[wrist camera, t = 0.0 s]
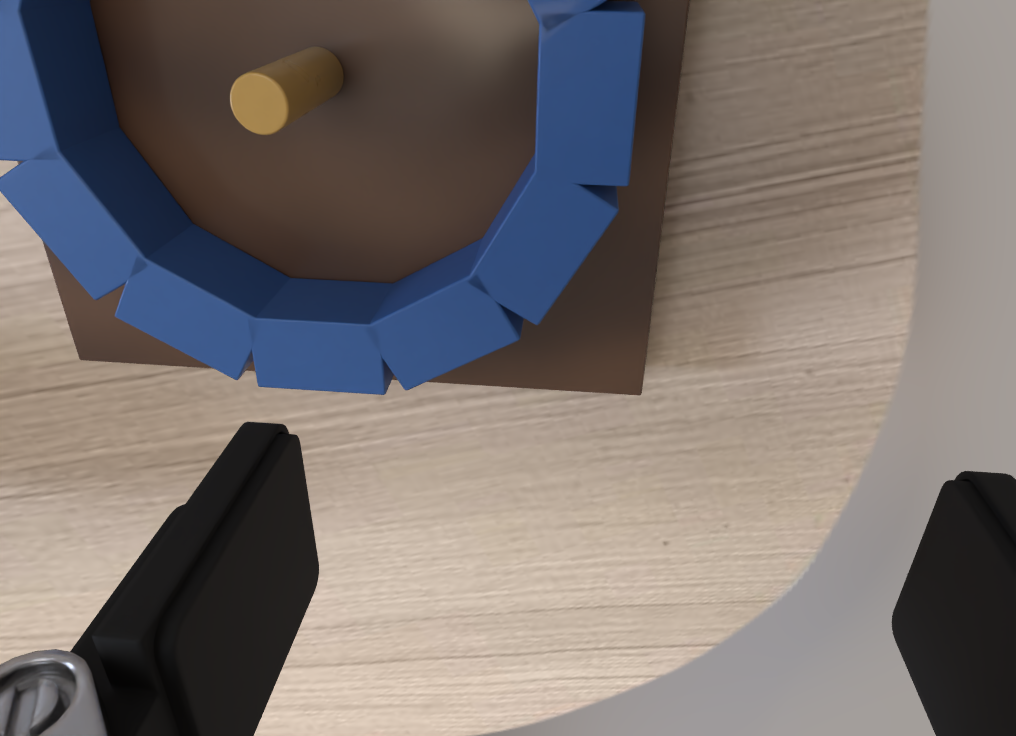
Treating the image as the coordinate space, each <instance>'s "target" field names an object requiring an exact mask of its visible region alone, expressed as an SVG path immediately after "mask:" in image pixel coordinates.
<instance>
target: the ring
mask: <svg viewBox="0 0 1016 736" xmlns="http://www.w3.org/2000/svg"><path fill="white" fill-rule="evenodd" d="M528 2H529V4H530V6H531V8H532V10H533V12H534V15H535V17H536V19H537V21H538V23H539V44H538V75H537V107H536V138H535V154H534V156H533V157H532V159H531V160H530V162H529V164H528V165H527V167H526V169H525V170H524V172H523V173H522V175H521V177H520V178H519V180H518V182H517V183H516V185H515V186H514V188H513V190H512V191H511V193H510V194H509V196H508V198H507V199H506V201H505V203H504V204H503V206H502V207H501V209H500V211H499V212H498V214H497V216H496V217H495V219H494V220H493V222H492V224H491V225H490V227H489V229H488V230H487V232H486V233H485V235H484V237H483V238H482V239H480V240H478V241H476V242H474V243H472V244H470V245H468V246H466V247H464V248H462V249H460V250H458V251H456V252H454V253H452V254H450V255H448V256H446V257H444V258H442V259H440V260H438V261H436V262H434V263H432V264H430V265H429V266H427V267H425V268H423V269H421V270H419V271H417V272H415V273H413V274H411V275H409V276H407V277H405V278H403V279H401V280H399V281H397V282H395V283H375V282H356V281H337V280H318V279H299V278H290V277H288V276H286V275H284V274H283V273H281V272H279V271H277V270H275V269H274V268H272V267H270V266H268V265H266V264H265V263H263V262H261V261H259V260H257V259H256V258H254V257H252V256H250V255H248V254H247V253H245V252H243V251H241V250H240V249H238V248H236V247H234V246H232V245H231V244H229V243H227V242H225V241H223V240H222V239H220V238H218V237H216V236H214V235H213V234H211V233H209V232H207V231H205V230H204V229H202V228H200V227H198V226H197V225H195V224H193V223H192V221H191V220H190V219H189V217H188V216H187V215H186V214H185V212H184V211H183V210H182V208H181V207H180V206H179V204H178V203H177V202H176V200H175V199H174V198H173V197H172V195H171V194H170V193H169V191H168V190H167V189H166V187H165V186H164V185H163V183H162V182H161V181H160V179H159V178H158V177H157V176H156V174H155V173H154V172H153V170H152V169H151V168H150V166H149V165H148V164H147V162H146V161H145V160H144V158H143V157H142V156H141V155H140V153H139V152H138V151H137V149H136V148H135V147H134V145H133V144H132V143H131V141H130V140H129V139H128V137H127V136H126V135H125V134H124V132H123V131H122V130H121V128H120V127H119V122H118V118H117V114H116V110H115V106H114V102H113V98H112V93H111V89H110V85H109V81H108V77H107V73H106V68H105V64H104V60H103V56H102V52H101V48H100V43H99V39H98V35H97V31H96V27H95V23H94V18H93V14H92V10H91V6H90V0H0V160H9V161H23V162H21V163H20V164H19V165H17V166H16V167H14V168H13V169H11V170H10V171H9V172H7V173H6V174H4V175H3V176H2V177H0V191H1V193H2V194H3V195H4V196H5V197H6V198H7V200H8V201H9V202H10V203H11V204H12V205H13V206H14V208H15V209H16V210H17V211H18V212H19V213H20V215H21V216H22V217H23V218H24V219H25V220H26V222H27V223H28V224H29V225H30V226H31V227H32V228H33V230H34V231H35V232H36V233H37V234H38V235H39V237H40V238H41V239H42V240H43V241H44V242H45V243H46V245H47V246H48V247H49V248H50V249H51V250H52V252H53V253H54V254H55V255H56V256H57V257H58V259H59V260H60V261H61V262H62V263H63V264H64V265H65V267H66V268H67V269H68V270H69V271H70V272H71V274H72V275H73V276H74V277H75V278H76V279H77V281H78V282H79V283H80V284H81V285H82V286H83V287H84V289H85V290H86V291H87V292H88V293H89V294H90V296H91V297H92V298H93V299H94V300H99V299H100V298H102V297H104V296H105V295H107V294H109V293H111V292H112V291H114V290H116V289H117V288H119V287H121V286H122V285H124V284H125V287H124V289H123V292H122V295H121V298H120V301H119V304H118V307H117V310H116V312H115V317H116V318H118V319H120V320H122V321H124V322H126V323H128V324H130V325H132V326H134V327H136V328H138V329H139V330H141V331H143V332H145V333H147V334H149V335H151V336H153V337H155V338H157V339H159V340H160V341H162V342H164V343H166V344H168V345H170V346H172V347H174V348H176V349H178V350H180V351H182V352H183V353H185V354H187V355H189V356H191V357H193V358H195V359H197V360H199V361H201V362H203V363H204V364H206V365H208V366H210V367H212V368H214V369H216V370H218V371H220V372H222V373H224V374H226V375H227V376H229V377H231V378H233V379H235V380H238V379H239V378H240V377H241V376H242V374H243V373H244V372H245V371H246V369H247V368H248V367H249V366H250V364H251V363H252V362H253V361H254V365H255V371H256V376H257V382H258V386H259V387H271V388H286V389H302V390H317V391H333V392H348V393H364V394H379V395H384V394H386V391H387V389H388V387H389V385H390V382H391V380H392V378H393V376H394V375H395V376H396V378H397V379H398V381H399V382H400V384H401V385H402V386H403V388H404V389H405V390H409V389H411V388H413V387H416V386H418V385H420V384H422V383H425V382H427V381H429V380H431V379H433V378H436V377H438V376H440V375H442V374H445V373H447V372H449V371H451V370H454V369H456V368H458V367H460V366H462V365H465V364H467V363H469V362H471V361H474V360H476V359H478V358H480V357H483V356H485V355H487V354H489V353H492V352H494V351H496V350H498V349H500V348H503V347H505V346H507V345H509V344H512V343H514V342H516V341H518V340H519V339H520V337H521V331H522V326H523V320H524V318H525V319H527V320H528V321H530V322H532V323H533V324H535V325H538V324H540V322H541V321H542V319H543V318H544V317H545V315H546V314H547V312H548V311H549V309H550V308H551V307H552V305H553V304H554V302H555V301H556V300H557V298H558V297H559V295H560V294H561V293H562V291H563V290H564V288H565V287H566V286H567V284H568V283H569V281H570V280H571V278H572V277H573V276H574V274H575V273H576V271H577V270H578V269H579V267H580V266H581V264H582V263H583V262H584V260H585V259H586V257H587V256H588V255H589V253H590V252H591V250H592V249H593V248H594V246H595V245H596V243H597V242H598V240H599V239H600V238H601V236H602V235H603V233H604V232H605V231H606V229H607V228H608V226H609V225H610V224H611V222H612V221H613V219H614V218H615V217H616V215H617V214H618V212H619V207H618V196H617V186H628V185H629V181H630V171H631V161H632V150H633V140H634V130H635V119H636V109H637V99H638V88H639V78H640V67H641V57H642V47H643V36H644V26H645V16H646V15H645V12H644V11H643V9H642V8H641V6H640V5H639V3H638V2H630V1H607V0H528Z"/></svg>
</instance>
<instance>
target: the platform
mask: <svg viewBox="0 0 1016 736" xmlns="http://www.w3.org/2000/svg"><path fill="white" fill-rule="evenodd" d="M607 1H630V2H638V3H639V5H640V6H641V8H642V9H643V11H644V12H645V15H646V16H645V26H644V36H643V47H642V57H641V67H640V78H639V88H638V99H637V109H636V119H635V130H634V140H633V150H632V161H631V171H630V181H629V185H628V186H617V196H618V207H619V212H618V214H617V215H616V217H615V218H614V219H613V221H612V222H611V224H610V225H609V226H608V228H607V229H606V231H605V232H604V233H603V235H602V236H601V238H600V239H599V240H598V242H597V243H596V245H595V246H594V248H593V249H592V250H591V252H590V253H589V255H588V256H587V257H586V259H585V260H584V262H583V263H582V264H581V266H580V267H579V269H578V270H577V271H576V273H575V274H574V276H573V277H572V278H571V280H570V281H569V283H568V284H567V286H566V287H565V288H564V290H563V291H562V293H561V294H560V295H559V297H558V298H557V300H556V301H555V302H554V304H553V305H552V307H551V308H550V309H549V311H548V312H547V314H546V315H545V317H544V318H543V319H542V321H541V322H540V324H538V325H535V324H533V323H532V322H530V321H528V320H527V319H525V318H524V320H523V326H522V331H521V337H520V339H519V340H518V341H516V342H514V343H512V344H509V345H507V346H505V347H503V348H500V349H498V350H496V351H494V352H492V353H489V354H487V355H485V356H483V357H480V358H478V359H476V360H474V361H471V362H469V363H467V364H465V365H462V366H460V367H458V368H456V369H454V370H451V371H449V372H447V373H445V374H442V375H440V376H438V377H436V378H433V379H431V380H429V381H427V382H438V383H454V384H470V385H486V386H501V387H517V388H533V389H549V390H565V391H581V392H596V393H612V394H628V395H641V393H642V386H643V378H644V370H645V362H646V354H647V346H648V337H649V329H650V321H651V313H652V305H653V297H654V288H655V280H656V272H657V264H658V256H659V247H660V239H661V231H662V223H663V215H664V207H665V198H666V190H667V182H668V174H669V166H670V158H671V149H672V141H673V133H674V125H675V117H676V109H677V100H678V92H679V84H680V76H681V68H682V60H683V51H684V43H685V35H686V27H687V19H688V11H689V2H690V0H607ZM90 6H91V10H92V14H93V18H94V23H95V27H96V31H97V35H98V39H99V43H100V48H101V52H102V56H103V60H104V64H105V68H106V73H107V77H108V81H109V85H110V89H111V93H112V98H113V102H114V106H115V110H116V114H117V118H118V122H119V127H120V128H121V130H122V131H123V132H124V134H125V135H126V136H127V137H128V139H129V140H130V141H131V143H132V144H133V145H134V147H135V148H136V149H137V151H138V152H139V153H140V155H141V156H142V157H143V158H144V160H145V161H146V162H147V164H148V165H149V166H150V168H151V169H152V170H153V172H154V173H155V174H156V176H157V177H158V178H159V179H160V181H161V182H162V183H163V185H164V186H165V187H166V189H167V190H168V191H169V193H170V194H171V195H172V197H173V198H174V199H175V200H176V202H177V203H178V204H179V206H180V207H181V208H182V210H183V211H184V212H185V214H186V215H187V216H188V217H189V219H190V220H191V221H192V223H193V224H195V225H197V226H198V227H200V228H202V229H204V230H205V231H207V232H209V233H211V234H213V235H214V236H216V237H218V238H220V239H222V240H223V241H225V242H227V243H229V244H231V245H232V246H234V247H236V248H238V249H240V250H241V251H243V252H245V253H247V254H248V255H250V256H252V257H254V258H256V259H257V260H259V261H261V262H263V263H265V264H266V265H268V266H270V267H272V268H274V269H275V270H277V271H279V272H281V273H283V274H284V275H286V276H288V277H290V278H299V279H318V280H337V281H356V282H375V283H395V282H397V281H399V280H401V279H403V278H405V277H407V276H409V275H411V274H413V273H415V272H417V271H419V270H421V269H423V268H425V267H427V266H429V265H430V264H432V263H434V262H436V261H438V260H440V259H442V258H444V257H446V256H448V255H450V254H452V253H454V252H456V251H458V250H460V249H462V248H464V247H466V246H468V245H470V244H472V243H474V242H476V241H478V240H480V239H482V238H483V237H484V235H485V233H486V232H487V230H488V229H489V227H490V225H491V224H492V222H493V220H494V219H495V217H496V216H497V214H498V212H499V211H500V209H501V207H502V206H503V204H504V203H505V201H506V199H507V198H508V196H509V194H510V193H511V191H512V190H513V188H514V186H515V185H516V183H517V182H518V180H519V178H520V177H521V175H522V173H523V172H524V170H525V169H526V167H527V165H528V164H529V162H530V160H531V159H532V157H533V156H534V154H535V138H536V107H537V75H538V44H539V23H538V21H537V19H536V17H535V15H534V12H533V10H532V8H531V6H530V4H529V2H528V0H90ZM21 162H23V161H18V164H20V163H21ZM42 241H43V240H42ZM43 244H44V247H45V250H46V253H47V257H48V260H49V263H50V266H51V269H52V273H53V276H54V279H55V282H56V285H57V288H58V292H59V295H60V298H61V301H62V304H63V308H64V311H65V314H66V317H67V320H68V324H69V327H70V330H71V333H72V336H73V339H74V343H75V346H76V349H77V352H78V355H79V359H80V360H89V361H105V362H121V363H137V364H153V365H168V366H184V367H200V368H212V367H210V366H208V365H206V364H204V363H203V362H201V361H199V360H197V359H195V358H193V357H191V356H189V355H187V354H185V353H183V352H182V351H180V350H178V349H176V348H174V347H172V346H170V345H168V344H166V343H164V342H162V341H160V340H159V339H157V338H155V337H153V336H151V335H149V334H147V333H145V332H143V331H141V330H139V329H138V328H136V327H134V326H132V325H130V324H128V323H126V322H124V321H122V320H120V319H118V318H116V317H115V312H116V310H117V307H118V304H119V301H120V298H121V295H122V292H123V289H124V287H125V284H124V285H122V286H121V287H119V288H117V289H116V290H114V291H112V292H111V293H109V294H107V295H105V296H104V297H102V298H100V299H99V300H94V299H93V298H92V297H91V296H90V294H89V293H88V292H87V291H86V290H85V289H84V287H83V286H82V285H81V284H80V283H79V282H78V281H77V279H76V278H75V277H74V276H73V275H72V274H71V272H70V271H69V270H68V269H67V268H66V267H65V265H64V264H63V263H62V262H61V261H60V260H59V259H58V257H57V256H56V255H55V254H54V253H53V252H52V250H51V249H50V248H49V247H48V246H47V245H46V243H45V242H44V241H43ZM246 370H248V371H255V365H254V361H253V362H252V363H251V364H250V366H249V367H248V368H247V369H246ZM392 380H398V379H397V378H396V376H395V375H394V376H393V378H392Z"/></svg>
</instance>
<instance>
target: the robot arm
mask: <svg viewBox="0 0 1016 736" xmlns="http://www.w3.org/2000/svg"><path fill="white" fill-rule="evenodd" d="M318 575H319V562H318V556H317V549H316V543H315V536H314V530H313V523H312V517H311V510H310V504H309V497H308V491H307V484H306V478H305V471H304V465H303V458H302V452H301V445H300V441H299V438H298V436H297V435H293V434H289V432H288V429H287V428H286V426H285V425H283V424H273V423H258V422H246V423H244V424H243V425H242V426H241V427H240V428H239V430H238V431H237V433H236V434H235V435H234V437H233V438H232V440H231V441H230V442H229V444H228V445H227V447H226V448H225V449H224V451H223V452H222V454H221V455H220V456H219V458H218V459H217V461H216V462H215V463H214V465H213V466H212V468H211V469H210V470H209V472H208V473H207V475H206V476H205V477H204V479H203V480H202V482H201V483H200V484H199V486H198V487H197V489H196V490H195V491H194V493H193V494H192V496H191V497H190V498H189V500H188V501H187V503H186V504H184V505H181V506H179V507H177V508H176V509H175V510H174V511H173V512H172V513H171V514H170V515H169V517H168V518H167V519H166V521H165V522H164V523H163V525H162V526H161V528H160V529H159V530H158V532H157V533H156V534H155V536H154V537H153V539H152V540H151V541H150V543H149V544H148V545H147V547H146V548H145V550H144V551H143V552H142V554H141V555H140V556H139V558H138V559H137V561H136V562H135V563H134V565H133V566H132V567H131V569H130V570H129V572H128V573H127V574H126V576H125V577H124V578H123V580H122V581H121V583H120V584H119V585H118V587H117V588H116V589H115V591H114V592H113V594H112V595H111V596H110V598H109V599H108V600H107V602H106V603H105V605H104V606H103V607H102V609H101V610H100V611H99V613H98V614H97V616H96V617H95V618H94V620H93V621H92V622H91V624H90V625H89V627H88V628H87V629H86V631H85V632H84V633H83V635H82V636H81V638H80V639H79V640H78V642H77V643H76V644H75V646H74V647H73V649H72V650H71V651H70V652H68V651H62V650H57V649H54V650H43V651H35V652H31V653H28V654H25V655H21V656H18V657H15V658H12V659H11V660H9V661H7V662H5V663H3V664H1V665H0V736H254V733H255V731H256V729H257V726H258V724H259V722H260V719H261V717H262V714H263V712H264V710H265V707H266V705H267V703H268V700H269V698H270V695H271V693H272V691H273V688H274V686H275V684H276V681H277V679H278V677H279V674H280V672H281V669H282V667H283V665H284V662H285V660H286V658H287V655H288V653H289V651H290V648H291V646H292V643H293V641H294V639H295V636H296V634H297V632H298V629H299V627H300V624H301V622H302V620H303V617H304V615H305V613H306V610H307V608H308V606H309V603H310V601H311V598H312V596H313V594H314V591H315V589H316V586H317V582H318ZM892 630H893V635H894V638H895V641H896V643H897V646H898V648H899V650H900V652H901V655H902V657H903V660H904V662H905V664H906V666H907V669H908V671H909V674H910V676H911V678H912V681H913V683H914V685H915V688H916V690H917V692H918V695H919V697H920V699H921V702H922V704H923V706H924V709H925V711H926V713H927V716H928V718H929V720H930V723H931V725H932V727H933V730H934V732H935V734H936V736H1016V479H1015V478H1013V477H1012V476H1011V475H1008V474H1003V473H988V472H973V471H964V472H961V473H960V474H959V475H958V476H957V477H956V479H955V480H949V481H946V482H945V483H944V485H943V486H942V488H941V491H940V493H939V496H938V498H937V501H936V503H935V506H934V509H933V511H932V514H931V516H930V519H929V522H928V524H927V526H926V529H925V532H924V534H923V537H922V539H921V542H920V544H919V547H918V550H917V552H916V555H915V558H914V560H913V563H912V565H911V568H910V570H909V573H908V575H907V578H906V581H905V583H904V586H903V588H902V591H901V593H900V596H899V599H898V601H897V604H896V606H895V609H894V612H893V616H892Z"/></svg>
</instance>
